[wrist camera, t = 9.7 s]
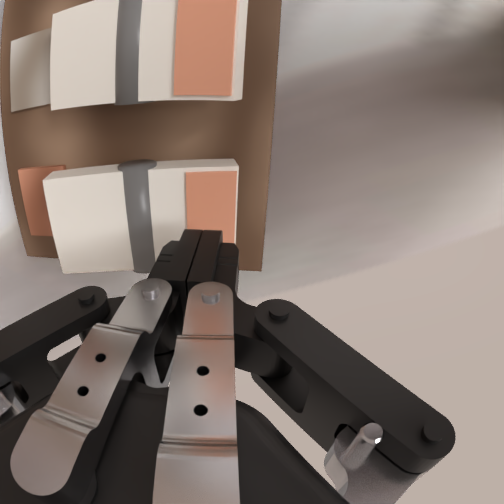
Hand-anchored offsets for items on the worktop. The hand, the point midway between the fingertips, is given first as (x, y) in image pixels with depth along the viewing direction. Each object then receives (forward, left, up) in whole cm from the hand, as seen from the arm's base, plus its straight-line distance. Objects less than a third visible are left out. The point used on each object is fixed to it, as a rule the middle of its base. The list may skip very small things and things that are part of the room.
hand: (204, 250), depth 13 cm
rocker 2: (+3, 0, -2) cm, 4 cm away
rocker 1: (+3, -8, -2) cm, 9 cm away
